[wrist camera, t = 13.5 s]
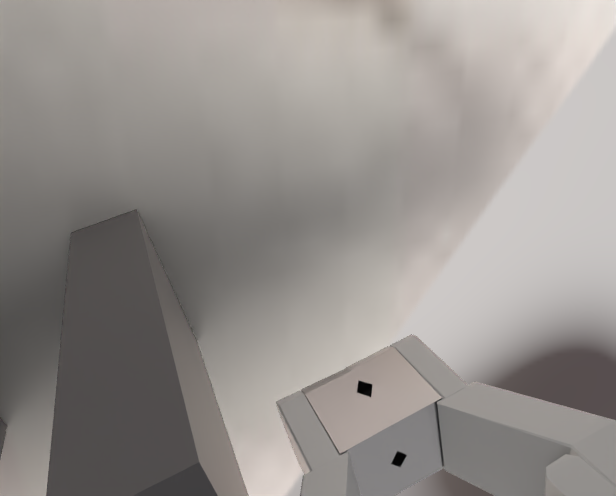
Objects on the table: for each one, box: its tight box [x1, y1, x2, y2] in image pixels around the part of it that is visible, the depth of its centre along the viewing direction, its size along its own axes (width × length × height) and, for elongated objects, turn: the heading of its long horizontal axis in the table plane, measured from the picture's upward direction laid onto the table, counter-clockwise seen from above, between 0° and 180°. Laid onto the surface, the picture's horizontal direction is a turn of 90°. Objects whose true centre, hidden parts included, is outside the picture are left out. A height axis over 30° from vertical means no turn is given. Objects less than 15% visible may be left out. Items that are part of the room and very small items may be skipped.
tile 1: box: [46, 209, 248, 496], centre depth 10 cm, size 2×5×9 cm, turn 13°
